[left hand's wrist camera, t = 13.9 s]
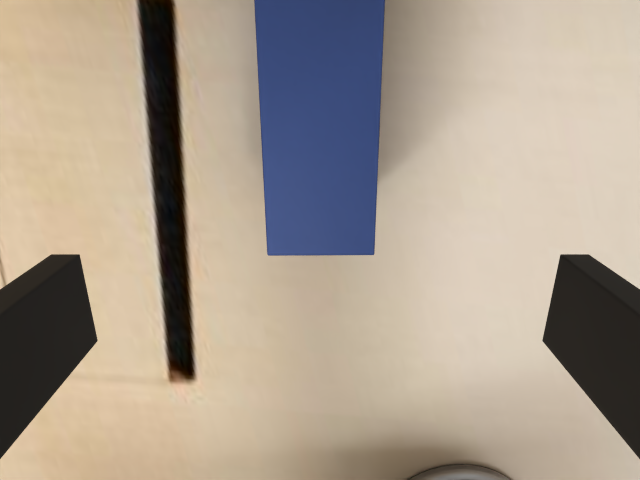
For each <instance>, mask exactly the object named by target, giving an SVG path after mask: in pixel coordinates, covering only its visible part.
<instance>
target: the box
mask: <svg viewBox="0 0 640 480" xmlns="http://www.w3.org/2000/svg"><path fill="white" fill-rule="evenodd" d="M254 3H255V22H256V42H257V61H258V80H259V100H260V119H261V139H262V158H263V178H264V197H265V216H266V236H267V254H268V255H374V248H375V224H376V200H377V176H378V152H379V128H380V104H381V80H382V56H383V32H384V8H385V0H254Z"/></svg>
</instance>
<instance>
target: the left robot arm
mask: <svg viewBox="0 0 640 480" xmlns="http://www.w3.org/2000/svg"><path fill="white" fill-rule="evenodd" d="M96 342H97V336H96V331H95V326H94V322H93V317H92V312H91V307H90V303H89V298H88V293H87V288H86V283H85V279H84V274H83V269H82V264H81V260H80V255H50V256H49V257H47V258H46V259H44V260H43V261H41V262H40V263H38V264H37V265H35V266H34V267H33V268H31V269H30V270H28V271H27V272H25V273H24V274H22V275H21V276H19V277H18V278H16V279H15V280H14V281H12V282H11V283H9V284H8V285H6V286H5V287H3V288H2V289H0V459H1V457H2V456H3V455H4V454H5V453H6V451H7V450H8V449H9V448H10V446H11V445H12V444H13V443H14V442H15V440H16V439H17V438H18V437H19V436H20V434H21V433H22V432H23V431H24V429H25V428H26V427H27V426H28V425H29V423H30V422H31V421H32V420H33V419H34V417H35V416H36V415H37V414H38V412H39V411H40V410H41V409H42V408H43V406H44V405H45V404H46V403H47V402H48V400H49V399H50V398H51V397H52V395H53V394H54V393H55V392H56V391H57V389H58V388H59V387H60V386H61V385H62V383H63V382H64V381H65V380H66V378H67V377H68V376H69V375H70V374H71V372H72V371H73V370H74V369H75V368H76V366H77V365H78V364H79V363H80V361H81V360H82V359H83V358H84V357H85V355H86V354H87V353H88V352H89V351H90V349H91V348H92V347H93V346H94V344H95V343H96ZM543 342H544V343H545V344H546V346H547V347H548V348H549V349H550V351H551V352H552V353H553V354H554V355H555V357H556V358H557V359H558V360H559V361H560V363H561V364H562V365H563V366H564V368H565V369H566V370H567V371H568V372H569V374H570V375H571V376H572V377H573V378H574V380H575V381H576V382H577V383H578V385H579V386H580V387H581V388H582V389H583V391H584V392H585V393H586V394H587V395H588V397H589V398H590V399H591V400H592V402H593V403H594V404H595V405H596V406H597V408H598V409H599V410H600V411H601V412H602V414H603V415H604V416H605V417H606V419H607V420H608V421H609V422H610V423H611V425H612V426H613V427H614V428H615V429H616V431H617V432H618V433H619V434H620V436H621V437H622V438H623V439H624V440H625V442H626V443H627V444H628V445H629V446H630V448H631V449H632V450H633V451H634V453H635V454H636V455H637V456H638V457H639V459H640V289H638V288H637V287H635V286H634V285H632V284H631V283H629V282H628V281H626V280H625V279H624V278H622V277H621V276H619V275H618V274H616V273H615V272H613V271H612V270H610V269H609V268H607V267H606V266H605V265H603V264H602V263H600V262H599V261H597V260H596V259H594V258H593V257H591V256H590V255H560V260H559V264H558V269H557V274H556V279H555V283H554V288H553V293H552V298H551V303H550V307H549V312H548V317H547V322H546V326H545V331H544V336H543ZM409 480H510V479H509V478H507V477H506V476H504V475H502V474H500V473H498V472H496V471H494V470H491V469H488V468H485V467H480V466H474V465H450V466H443V467H438V468H434V469H431V470H428V471H425V472H423V473H420V474H418V475H416V476H414V477H412V478H411V479H409Z"/></svg>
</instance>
